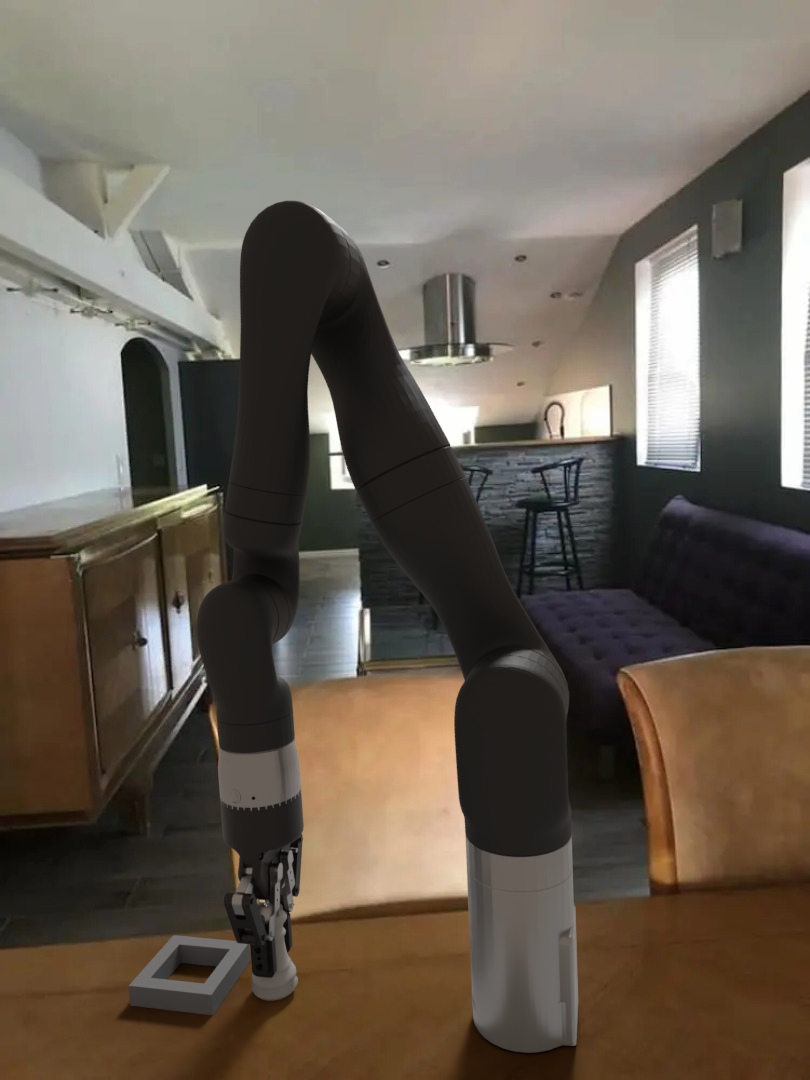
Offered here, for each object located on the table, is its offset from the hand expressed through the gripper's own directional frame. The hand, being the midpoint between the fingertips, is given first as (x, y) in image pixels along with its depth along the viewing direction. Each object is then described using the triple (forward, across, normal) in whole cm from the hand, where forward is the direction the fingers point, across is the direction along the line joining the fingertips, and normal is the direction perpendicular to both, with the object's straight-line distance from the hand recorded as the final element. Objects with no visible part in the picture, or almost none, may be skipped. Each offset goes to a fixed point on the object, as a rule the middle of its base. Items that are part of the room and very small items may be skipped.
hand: (273, 961), depth 80 cm
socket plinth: (+3, 0, +9) cm, 9 cm away
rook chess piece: (+3, 0, 0) cm, 3 cm away
